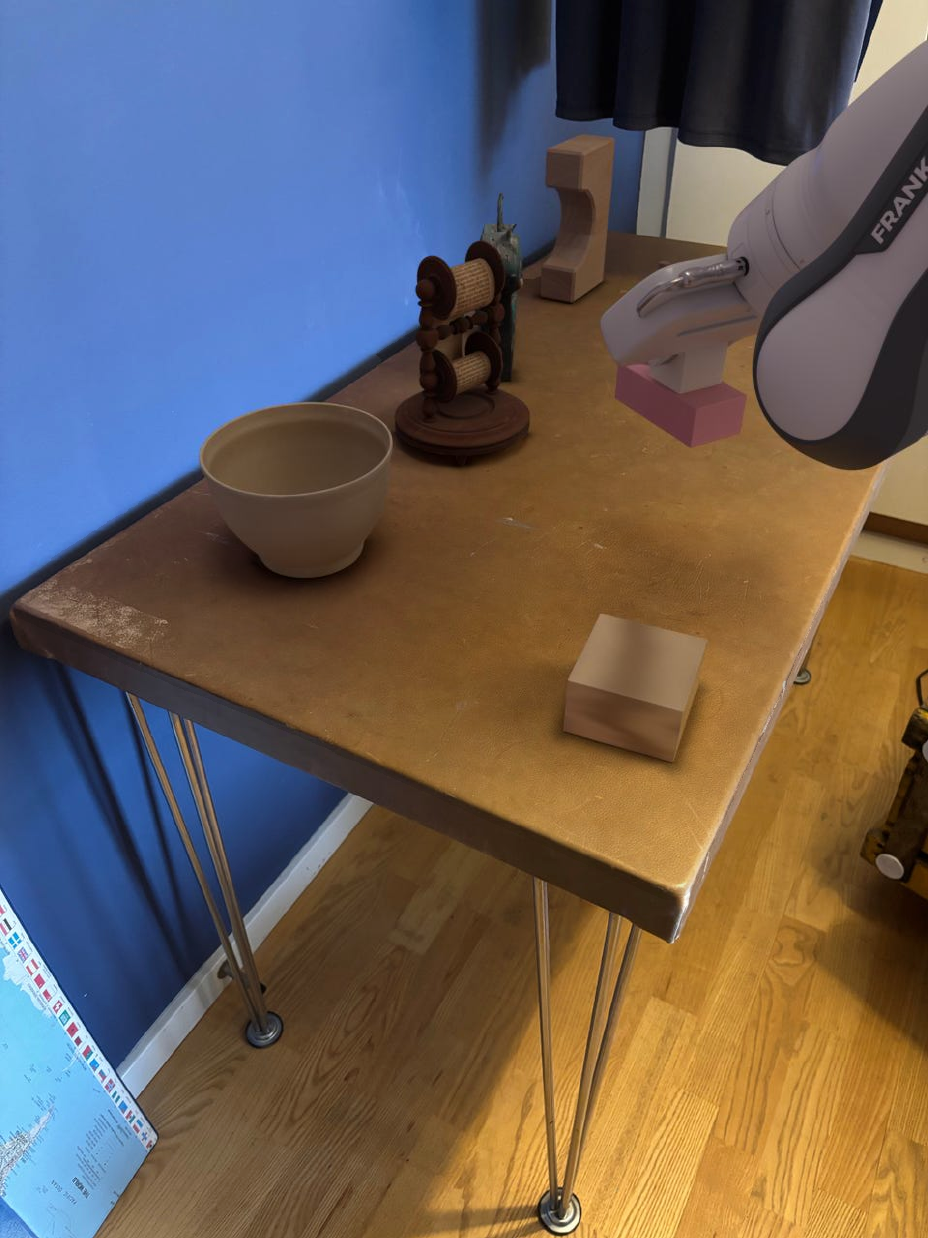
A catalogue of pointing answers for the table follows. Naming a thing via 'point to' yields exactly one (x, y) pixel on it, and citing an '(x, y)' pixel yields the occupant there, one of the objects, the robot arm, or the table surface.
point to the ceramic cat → (506, 284)
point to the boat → (685, 395)
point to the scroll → (461, 361)
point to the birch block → (634, 686)
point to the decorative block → (578, 215)
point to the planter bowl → (300, 483)
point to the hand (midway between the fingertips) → (683, 349)
